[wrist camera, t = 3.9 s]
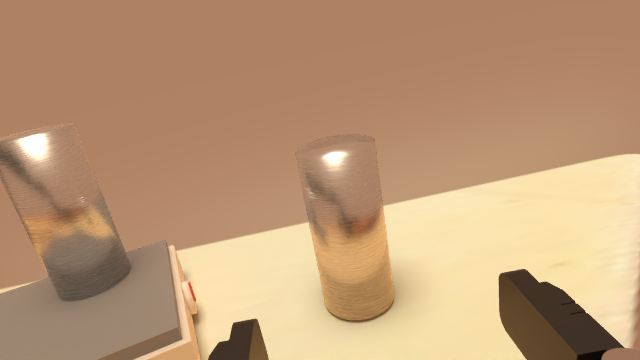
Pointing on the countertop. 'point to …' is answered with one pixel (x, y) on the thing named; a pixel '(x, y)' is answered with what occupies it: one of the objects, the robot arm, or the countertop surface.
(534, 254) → the countertop surface
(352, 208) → the cylinder
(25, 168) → the cylinder
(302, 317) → the countertop surface
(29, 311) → the scale
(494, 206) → the countertop surface
